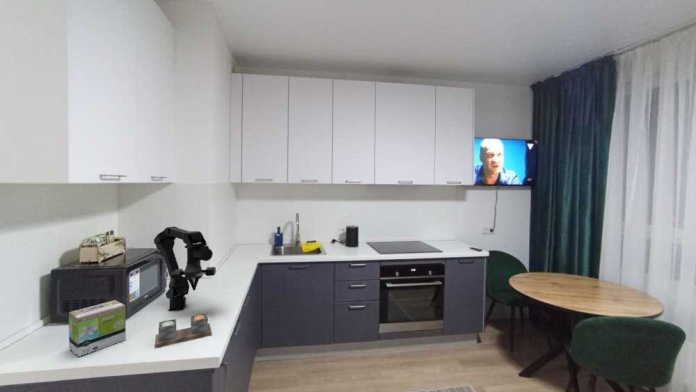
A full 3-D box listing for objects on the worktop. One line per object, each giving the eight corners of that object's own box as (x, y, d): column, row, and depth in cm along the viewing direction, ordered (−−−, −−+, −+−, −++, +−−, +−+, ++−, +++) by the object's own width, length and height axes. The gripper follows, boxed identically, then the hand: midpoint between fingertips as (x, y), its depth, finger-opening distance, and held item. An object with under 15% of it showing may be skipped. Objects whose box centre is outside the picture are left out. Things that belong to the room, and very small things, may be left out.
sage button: (160, 331, 118) (159, 326, 118) (163, 326, 122) (163, 321, 122) (171, 330, 119) (171, 325, 119) (175, 325, 123) (174, 320, 123)
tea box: (78, 358, 108) (77, 318, 107) (68, 350, 113) (67, 311, 113) (126, 340, 121) (125, 304, 120) (115, 333, 126) (115, 298, 125)
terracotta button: (192, 324, 124) (192, 319, 124) (194, 320, 128) (194, 315, 128) (203, 323, 125) (203, 318, 125) (205, 318, 129) (205, 314, 129)
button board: (154, 348, 115) (154, 330, 115) (155, 338, 122) (155, 321, 122) (211, 335, 125) (211, 318, 125) (209, 326, 132) (209, 311, 132)
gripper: (166, 263, 133) (167, 298, 133) (212, 261, 138) (212, 294, 138) (173, 257, 143) (174, 289, 144) (215, 255, 148) (216, 286, 149)
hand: (194, 290), depth 144 cm, fingers closed
